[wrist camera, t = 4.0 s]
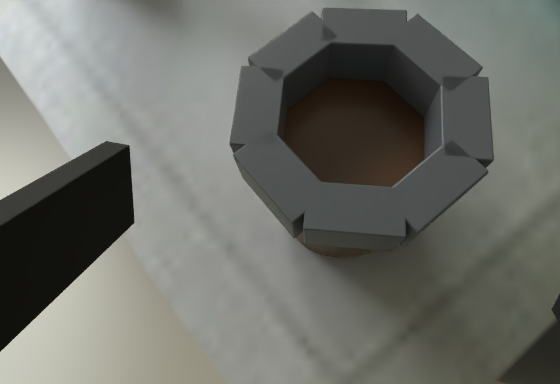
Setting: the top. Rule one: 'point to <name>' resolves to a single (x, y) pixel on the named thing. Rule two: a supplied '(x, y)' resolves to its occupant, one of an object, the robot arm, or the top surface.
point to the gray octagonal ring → (363, 66)
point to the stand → (355, 138)
